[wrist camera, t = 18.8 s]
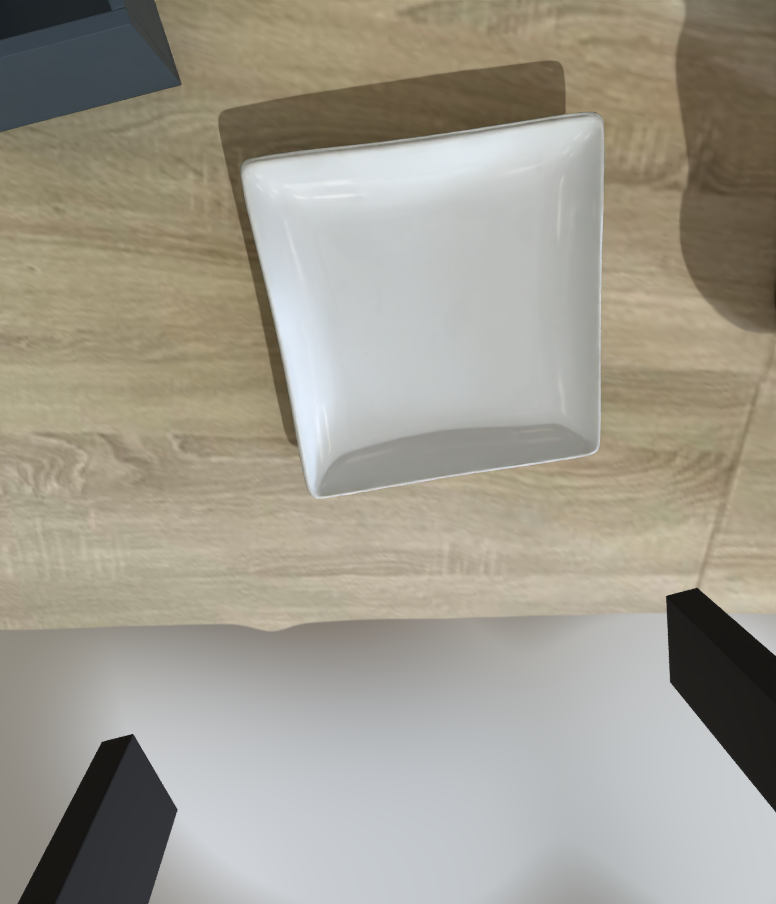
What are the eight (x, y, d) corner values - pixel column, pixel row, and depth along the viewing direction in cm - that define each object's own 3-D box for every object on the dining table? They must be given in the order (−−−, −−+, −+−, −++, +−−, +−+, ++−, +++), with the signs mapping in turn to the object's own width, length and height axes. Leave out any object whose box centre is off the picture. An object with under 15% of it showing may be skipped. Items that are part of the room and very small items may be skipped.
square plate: (584, 121, 39) (609, 105, 35) (583, 443, 48) (602, 457, 44) (244, 168, 38) (233, 156, 34) (310, 486, 47) (308, 504, 43)
